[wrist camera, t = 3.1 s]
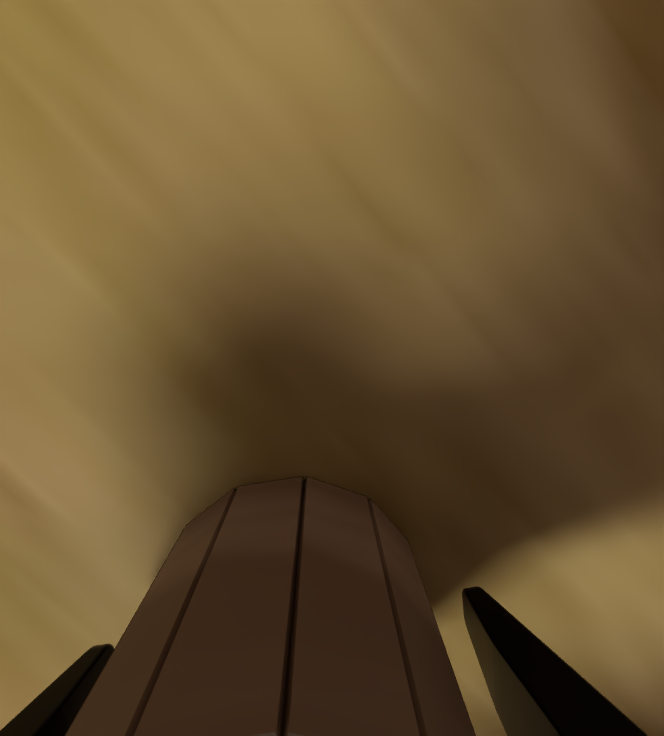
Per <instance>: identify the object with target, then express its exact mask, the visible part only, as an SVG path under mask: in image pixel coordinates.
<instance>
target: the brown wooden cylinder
mask: <svg viewBox="0 0 664 736" xmlns="http://www.w3.org/2000/svg"><path fill="white" fill-rule="evenodd" d="M65 736H476V735H475V732H474V729H473V726H472V723H471V720H470V717H469V715H468V712H467V709H466V706H465V703H464V700H463V697H462V694H461V692H460V689H459V686H458V683H457V680H456V677H455V674H454V671H453V669H452V666H451V663H450V660H449V657H448V654H447V651H446V649H445V646H444V643H443V640H442V637H441V634H440V631H439V628H438V626H437V623H436V620H435V617H434V614H433V611H432V608H431V605H430V603H429V600H428V597H427V594H426V591H425V588H424V585H423V583H422V580H421V577H420V574H419V571H418V568H417V565H416V562H415V560H414V557H413V554H412V551H411V548H410V545H409V544H408V541H407V540H406V538H405V537H404V536H403V535H402V534H401V533H400V532H399V531H398V529H397V528H396V527H395V526H394V525H393V524H392V523H391V521H390V520H389V519H388V518H387V517H386V516H385V515H384V514H383V512H382V511H381V510H380V509H379V508H378V507H377V506H376V505H375V503H374V502H373V501H372V500H369V501H367V497H366V496H363V495H360V494H357V493H354V492H351V491H348V490H345V489H342V488H339V487H336V486H333V485H330V484H327V483H324V482H321V481H318V480H315V479H312V478H309V477H307V479H306V482H305V484H304V485H303V479H302V477H297V478H290V479H284V480H277V481H271V482H265V483H258V484H252V485H246V486H239V487H238V489H237V491H235V490H234V489H232V490H231V491H230V492H229V493H227V494H226V495H225V496H223V497H222V498H221V499H220V500H218V501H217V502H216V503H214V504H213V505H212V506H210V507H209V508H208V509H207V510H205V511H204V512H203V513H201V514H200V515H199V516H198V517H196V518H195V519H194V520H192V521H191V522H190V523H188V524H187V525H186V527H185V529H183V531H182V533H181V535H180V536H179V538H178V540H177V542H176V543H175V545H174V547H173V548H172V550H171V552H170V554H169V555H168V557H167V559H166V561H165V562H164V564H163V566H162V568H161V569H160V571H159V573H158V575H157V576H156V578H155V580H154V581H153V583H152V585H151V587H150V588H149V590H148V592H147V594H146V595H145V597H144V599H143V601H142V602H141V604H140V606H139V608H138V609H137V611H136V613H135V614H134V616H133V618H132V620H131V621H130V623H129V625H128V627H127V628H126V630H125V632H124V634H123V635H122V637H121V639H120V641H119V642H118V644H117V646H116V648H115V649H114V651H113V653H112V654H111V656H110V658H109V660H108V661H107V663H106V665H105V667H104V668H103V670H102V672H101V674H100V675H99V677H98V679H97V681H96V682H95V684H94V686H93V687H92V689H91V691H90V693H89V694H88V696H87V698H86V700H85V701H84V703H83V705H82V707H81V708H80V710H79V712H78V714H77V715H76V717H75V719H74V720H73V722H72V724H71V726H70V727H69V729H68V731H67V733H66V734H65Z"/></svg>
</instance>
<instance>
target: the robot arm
mask: <svg viewBox="0 0 664 736" xmlns="http://www.w3.org/2000/svg"><path fill="white" fill-rule="evenodd" d="M462 598H463V611H464V619H465V623H466V627H467V630H468V632H469V635H470V638H471V641H472V644H473V647H474V649H475V652H476V655H477V658H478V661H479V664H480V666H481V669H482V672H483V675H484V678H485V681H486V683H487V686H488V689H489V692H490V695H491V697H492V700H493V703H494V705H495V708H496V711H497V713H498V715H499V718H500V720H501V722H502V725H503V727H504V729H505V731H506V733H507V736H647V734H646V733H645V732H644V731H643V730H642V729H640V728H639V727H638V726H637V725H636V724H635V723H634V722H633V721H631V720H630V719H629V718H628V717H627V716H626V715H625V714H623V713H622V712H621V711H620V710H619V709H618V708H617V707H616V706H614V705H613V704H612V703H611V702H610V701H609V700H608V699H607V698H605V697H604V696H603V695H602V694H601V693H600V692H599V691H597V690H596V689H595V688H594V687H593V686H592V685H591V684H590V683H588V682H587V681H586V680H585V679H584V678H583V677H582V676H580V675H579V674H578V673H577V672H576V671H575V670H574V669H573V668H571V667H570V666H569V665H568V664H567V663H566V662H565V661H564V660H562V659H561V658H560V657H559V656H558V655H557V654H556V653H554V652H553V651H552V650H551V649H550V648H549V647H548V646H547V645H545V644H544V643H543V642H542V641H541V640H540V639H539V638H537V637H536V636H535V635H534V634H533V633H532V632H531V631H530V630H528V629H527V628H526V627H525V626H524V625H523V624H522V623H521V622H519V621H518V620H517V619H516V618H515V617H514V616H513V615H511V614H510V613H509V612H508V611H507V610H506V609H505V608H504V607H502V606H501V605H500V604H499V603H498V602H497V601H496V600H494V599H493V598H492V597H491V596H490V595H489V594H488V593H487V592H485V591H484V590H483V589H482V588H480V587H470V588H465V589H463V591H462ZM113 651H114V647H113V646H112V645H111V644H103V645H96V646H93V647H92V648H90V649H89V650H88V651H87V652H85V653H84V654H83V655H82V656H81V657H80V658H79V659H78V660H77V661H76V662H75V663H73V664H72V665H71V666H70V667H69V668H68V669H67V670H66V671H65V672H64V673H63V674H61V675H60V676H59V677H58V678H57V679H56V680H55V681H54V682H53V683H52V684H51V685H49V686H48V687H47V688H46V689H45V690H44V691H43V692H42V693H41V694H40V695H39V696H37V697H36V698H35V699H34V700H33V701H32V702H31V703H30V704H29V705H28V706H27V707H25V708H24V709H23V710H22V711H21V712H20V713H19V714H18V715H17V716H16V717H15V718H13V719H12V720H11V721H10V722H9V723H8V724H7V725H6V726H5V727H4V728H3V729H2V730H0V736H65V734H66V733H67V731H68V729H69V727H70V726H71V724H72V722H73V720H74V719H75V717H76V715H77V714H78V712H79V710H80V708H81V707H82V705H83V703H84V701H85V700H86V698H87V696H88V694H89V693H90V691H91V689H92V687H93V686H94V684H95V682H96V681H97V679H98V677H99V675H100V674H101V672H102V670H103V668H104V667H105V665H106V663H107V661H108V660H109V658H110V656H111V654H112V653H113Z"/></svg>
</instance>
